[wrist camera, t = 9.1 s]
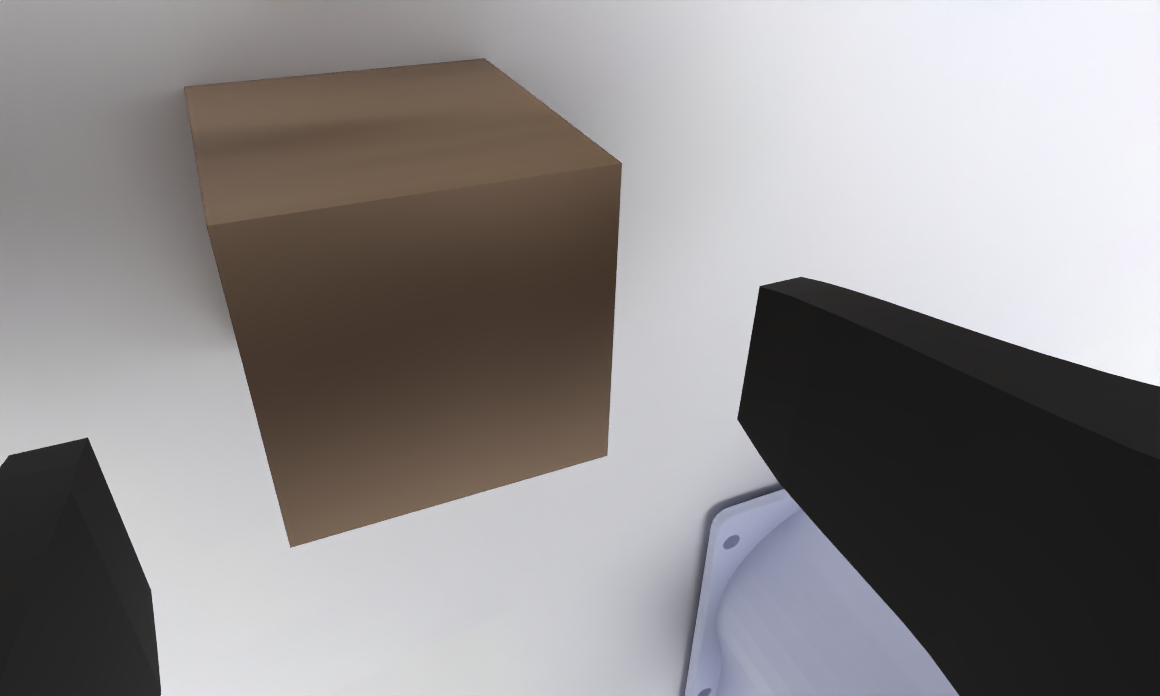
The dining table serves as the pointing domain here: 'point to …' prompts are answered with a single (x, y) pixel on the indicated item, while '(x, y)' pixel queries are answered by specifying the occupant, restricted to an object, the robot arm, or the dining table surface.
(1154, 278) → the dining table surface
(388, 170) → the walnut cube
